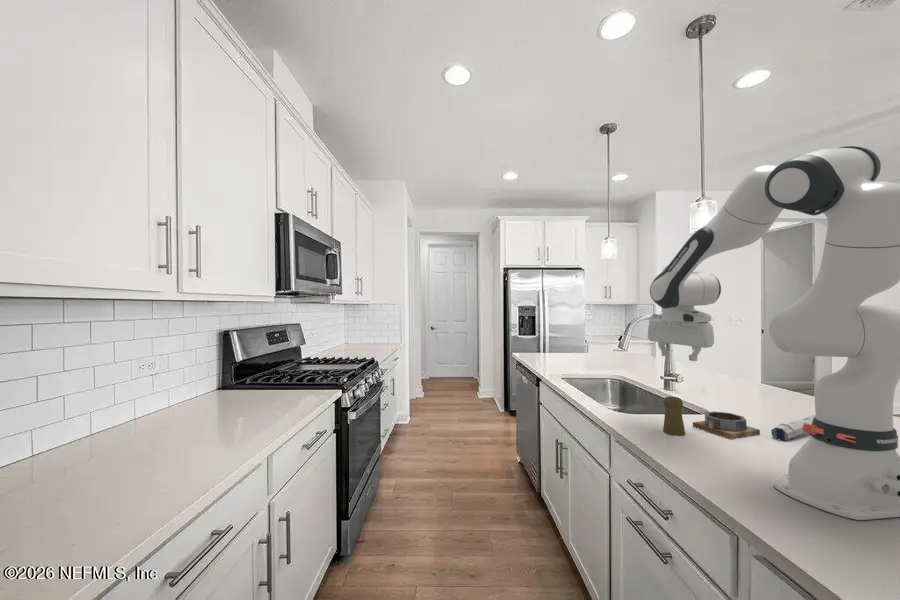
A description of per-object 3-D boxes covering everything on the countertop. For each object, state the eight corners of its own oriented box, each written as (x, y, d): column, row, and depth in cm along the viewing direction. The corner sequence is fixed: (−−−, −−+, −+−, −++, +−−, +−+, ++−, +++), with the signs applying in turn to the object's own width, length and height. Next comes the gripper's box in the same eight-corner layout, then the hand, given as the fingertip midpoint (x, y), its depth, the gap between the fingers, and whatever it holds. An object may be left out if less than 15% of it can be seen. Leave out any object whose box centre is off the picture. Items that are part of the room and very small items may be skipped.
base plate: (730, 439, 107) (730, 434, 107) (692, 427, 119) (692, 422, 119) (760, 434, 111) (759, 429, 111) (720, 423, 122) (720, 418, 122)
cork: (689, 433, 113) (688, 397, 113) (680, 437, 110) (678, 400, 110) (668, 428, 118) (667, 393, 118) (659, 432, 115) (657, 396, 115)
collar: (727, 433, 108) (726, 423, 108) (695, 423, 118) (695, 413, 118) (753, 429, 111) (753, 419, 111) (721, 419, 121) (720, 410, 121)
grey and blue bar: (767, 424, 109) (819, 404, 117) (770, 446, 109) (821, 424, 117) (788, 430, 104) (841, 408, 112) (791, 453, 104) (843, 430, 112)
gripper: (642, 314, 125) (643, 354, 126) (702, 317, 106) (703, 364, 106) (656, 313, 127) (657, 352, 128) (717, 315, 108) (718, 362, 109)
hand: (678, 358), depth 117 cm, fingers open, 8 cm apart
